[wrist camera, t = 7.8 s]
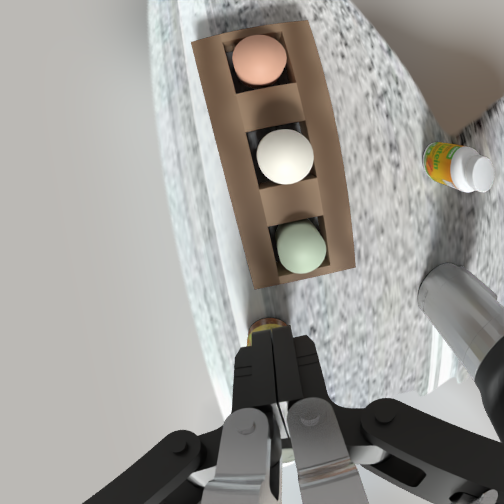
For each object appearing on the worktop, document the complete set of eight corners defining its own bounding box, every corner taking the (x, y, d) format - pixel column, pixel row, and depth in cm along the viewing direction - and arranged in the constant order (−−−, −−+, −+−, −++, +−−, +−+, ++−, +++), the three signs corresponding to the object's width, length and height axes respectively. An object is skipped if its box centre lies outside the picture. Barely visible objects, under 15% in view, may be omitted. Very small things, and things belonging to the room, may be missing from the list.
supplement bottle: (428, 134, 29) (476, 140, 20) (455, 152, 30) (503, 164, 21) (416, 171, 31) (462, 186, 22) (443, 187, 32) (489, 206, 23)
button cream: (298, 126, 27) (307, 124, 23) (308, 171, 29) (318, 178, 25) (251, 135, 28) (251, 135, 23) (262, 181, 30) (264, 189, 25)
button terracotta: (275, 45, 25) (279, 31, 21) (286, 84, 27) (292, 76, 23) (230, 53, 25) (227, 40, 21) (241, 93, 27) (239, 86, 23)
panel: (301, 32, 25) (307, 20, 21) (345, 253, 35) (355, 267, 32) (197, 52, 26) (190, 42, 22) (254, 273, 36) (254, 289, 33)
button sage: (313, 211, 33) (322, 224, 28) (319, 250, 35) (328, 267, 30) (271, 220, 33) (274, 234, 29) (279, 259, 35) (283, 277, 31)
